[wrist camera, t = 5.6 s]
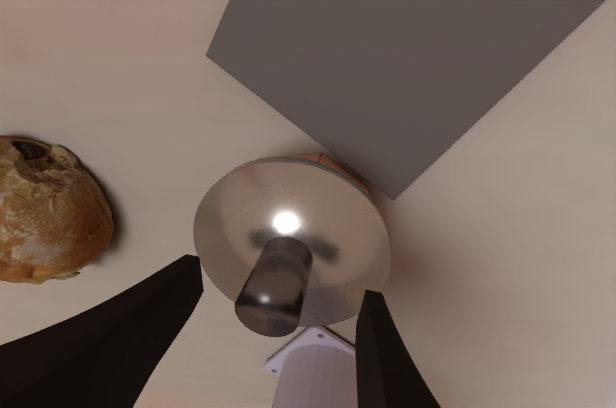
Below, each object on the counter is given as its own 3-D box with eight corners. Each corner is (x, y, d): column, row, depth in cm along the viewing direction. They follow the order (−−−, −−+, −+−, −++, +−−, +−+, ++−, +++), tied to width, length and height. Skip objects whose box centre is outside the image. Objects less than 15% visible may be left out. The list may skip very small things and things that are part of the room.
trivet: (631, -34, 10) (646, -38, 9) (392, 195, 15) (393, 200, 15) (378, -322, 8) (379, -349, 7) (211, 56, 14) (205, 55, 13)
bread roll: (156, 173, 22) (67, 166, 14) (115, 288, 22) (7, 345, 14) (40, 126, 22) (-119, 92, 14) (2, 244, 22) (-170, 277, 14)
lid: (434, 247, 12) (466, 325, 8) (307, 337, 16) (293, 413, 13) (265, 107, 10) (217, 131, 7) (174, 247, 15) (115, 306, 11)
